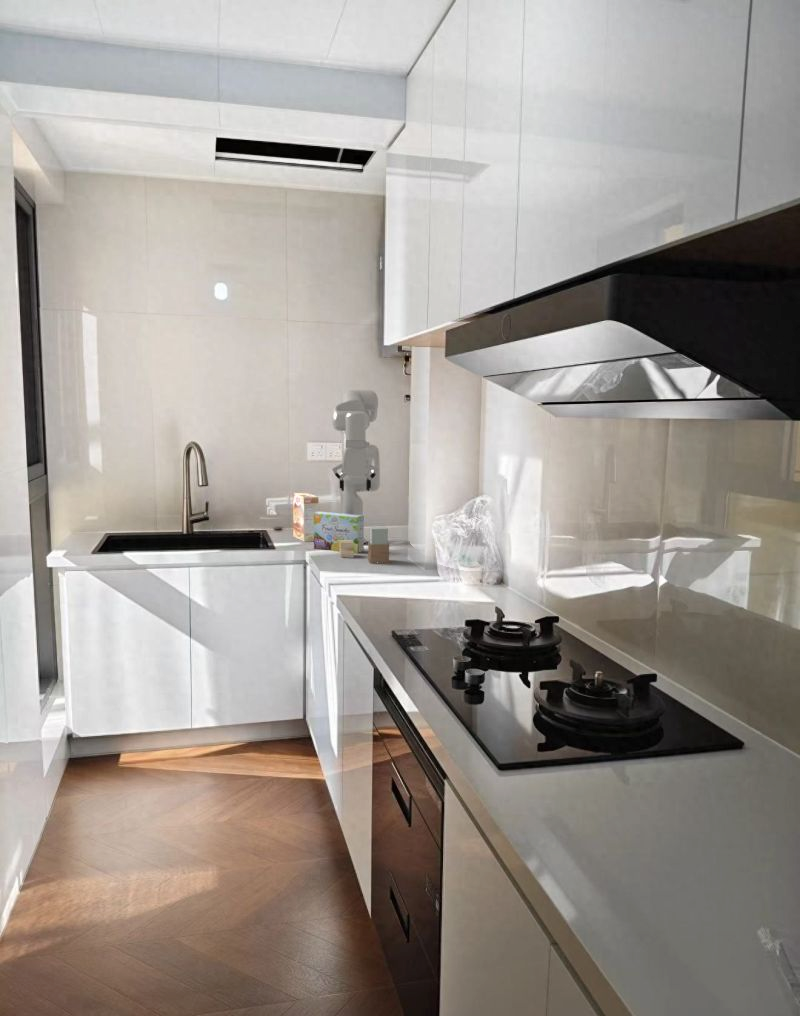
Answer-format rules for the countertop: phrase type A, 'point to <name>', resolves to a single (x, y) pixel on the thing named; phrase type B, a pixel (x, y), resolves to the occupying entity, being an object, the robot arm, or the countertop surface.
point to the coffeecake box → (304, 516)
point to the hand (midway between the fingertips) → (355, 490)
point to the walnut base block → (378, 553)
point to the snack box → (338, 530)
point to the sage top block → (378, 536)
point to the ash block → (346, 548)
